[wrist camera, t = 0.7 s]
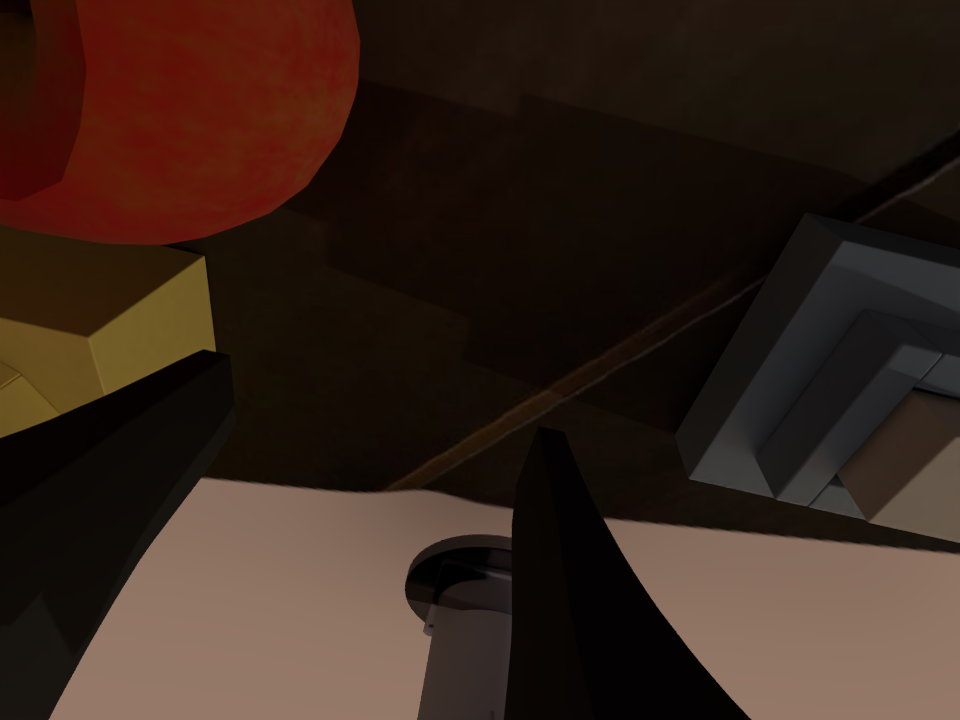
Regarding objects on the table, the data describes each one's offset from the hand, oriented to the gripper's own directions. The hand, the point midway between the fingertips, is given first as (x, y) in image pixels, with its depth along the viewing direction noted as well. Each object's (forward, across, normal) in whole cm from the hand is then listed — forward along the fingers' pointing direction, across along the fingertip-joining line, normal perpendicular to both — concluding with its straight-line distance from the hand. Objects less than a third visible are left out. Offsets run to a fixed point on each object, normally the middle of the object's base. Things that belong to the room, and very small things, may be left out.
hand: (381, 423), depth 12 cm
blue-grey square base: (+8, -16, 0) cm, 18 cm away
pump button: (+4, -16, 0) cm, 17 cm away
